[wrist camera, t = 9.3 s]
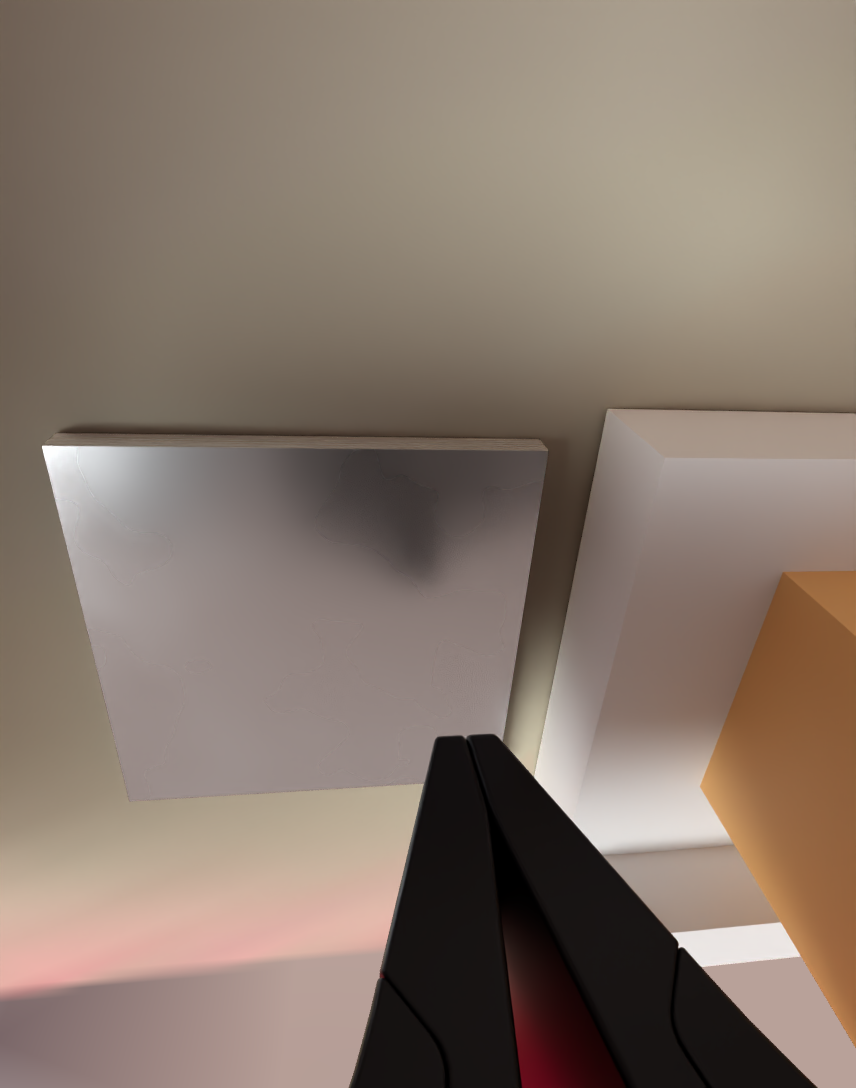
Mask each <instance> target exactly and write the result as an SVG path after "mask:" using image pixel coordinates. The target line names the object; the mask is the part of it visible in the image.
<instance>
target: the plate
mask: <svg viewBox="0 0 856 1088" xmlns="http://www.w3.org/2000/svg"><path fill="white" fill-rule="evenodd" d="M42 449H43V453H44V457H45V461H46V465H47V469H48V473H49V477H50V481H51V486H52V490H53V494H54V498H55V502H56V506H57V510H58V514H59V518H60V522H61V526H62V530H63V534H64V538H65V542H66V546H67V550H68V554H69V558H70V562H71V566H72V570H73V575H74V579H75V583H76V587H77V591H78V595H79V599H80V603H81V607H82V611H83V615H84V619H85V623H86V627H87V631H88V635H89V639H90V643H91V647H92V651H93V655H94V660H95V664H96V668H97V672H98V676H99V680H100V684H101V688H102V692H103V696H104V700H105V704H106V708H107V712H108V716H109V720H110V724H111V728H112V732H113V736H114V740H115V744H116V749H117V753H118V757H119V761H120V765H121V769H122V773H123V777H124V781H125V785H126V789H127V793H128V797H129V801H144V800H160V799H177V798H193V797H210V796H226V795H242V794H259V793H275V792H291V791H308V790H324V789H340V788H357V787H373V786H389V785H406V784H422V783H424V782H425V778H426V774H427V770H428V765H429V761H430V757H431V753H432V748H433V744H434V741H435V739H436V738H437V737H438V736H452V735H462V736H463V737H464V738H465V739H466V737H467V736H468V735H472V734H495V735H496V736H498V737H499V738H500V739H501V740H502V742H503V736H504V730H505V724H506V717H507V711H508V705H509V698H510V692H511V686H512V679H513V673H514V667H515V661H516V654H517V648H518V642H519V635H520V629H521V623H522V616H523V610H524V604H525V597H526V591H527V585H528V579H529V572H530V566H531V560H532V553H533V547H534V541H535V534H536V528H537V522H538V515H539V509H540V503H541V496H542V490H543V484H544V478H545V471H546V465H547V459H548V452H549V451H548V449H547V448H546V447H545V445H544V444H543V443H542V442H541V440H540V439H501V438H420V437H339V436H258V435H177V434H96V433H55V434H54V435H53V436H52V437H51V438H50V439H49V440H48V441H46V442H45V443H44V444H43V445H42Z"/></svg>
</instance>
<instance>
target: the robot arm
mask: <svg viewBox="0 0 856 1088" xmlns="http://www.w3.org/2000/svg"><path fill="white" fill-rule="evenodd" d="M678 946H679V943H678V941H677V939H676V938H675V937H674V936H673V935H672V934H671V933H670V931H669V930H668V929H667V928H666V927H665V926H664V925H663V923H662V922H661V921H660V920H659V919H658V918H657V917H656V915H655V914H654V913H653V912H652V911H651V910H650V909H649V908H648V906H647V905H646V904H645V903H644V902H643V901H642V900H641V898H640V897H639V896H638V895H637V894H636V893H635V892H634V890H633V889H632V888H631V887H630V886H629V885H628V884H627V883H626V881H625V880H624V879H623V878H622V877H621V876H620V875H619V873H618V872H617V871H616V870H615V869H614V868H613V867H612V865H611V864H610V863H609V862H608V861H607V860H606V859H605V858H604V856H603V855H602V854H601V853H600V852H599V851H598V850H597V848H596V847H595V846H594V845H593V844H592V843H591V842H590V840H589V839H588V838H587V837H586V836H585V835H584V834H583V833H582V831H581V830H580V829H579V828H578V827H577V826H576V825H575V823H574V822H573V821H572V820H571V819H570V818H569V817H568V815H567V814H566V813H565V812H564V811H563V810H562V809H561V808H560V806H559V805H558V804H557V803H556V802H555V801H554V800H553V798H552V797H551V796H550V795H549V794H548V793H547V792H546V790H545V789H544V788H543V787H542V786H541V785H540V784H539V783H538V781H537V780H536V779H535V778H534V777H533V776H532V775H531V773H530V772H529V771H528V770H527V769H526V768H525V767H524V765H523V764H522V763H521V762H520V761H519V760H518V759H517V758H516V756H515V755H514V754H513V753H512V752H511V751H510V750H509V748H508V747H507V746H506V745H505V744H504V743H503V742H502V740H501V739H500V738H499V737H498V736H496V735H495V734H472V735H468V736H467V737H466V739H465V738H464V737H463V736H462V735H452V736H438V737H437V738H436V739H435V741H434V744H433V748H432V753H431V757H430V761H429V765H428V770H427V774H426V778H425V782H424V786H423V791H422V795H421V799H420V803H419V808H418V812H417V816H416V820H415V825H414V829H413V833H412V837H411V842H410V846H409V850H408V854H407V859H406V863H405V867H404V871H403V876H402V880H401V884H400V888H399V893H398V897H397V901H396V905H395V910H394V914H393V918H392V922H391V927H390V931H389V935H388V939H387V944H386V948H385V952H384V956H383V961H382V965H381V969H380V978H379V979H378V981H377V984H376V989H375V993H374V997H373V1001H372V1006H371V1010H370V1014H369V1018H368V1022H367V1026H366V1029H365V1033H364V1037H363V1040H362V1044H361V1048H360V1052H359V1055H358V1059H357V1063H356V1066H355V1070H354V1073H353V1076H352V1079H351V1082H350V1085H349V1088H817V1087H816V1086H815V1085H814V1084H813V1083H812V1082H811V1081H810V1080H809V1079H808V1078H807V1077H806V1076H805V1075H804V1074H803V1073H802V1072H801V1071H800V1070H799V1069H798V1068H797V1067H796V1066H795V1065H794V1064H793V1063H792V1062H791V1061H790V1060H789V1059H788V1058H787V1057H786V1056H785V1055H784V1054H783V1053H782V1052H781V1051H780V1050H779V1049H778V1048H777V1047H776V1046H775V1045H774V1044H773V1043H772V1042H771V1041H770V1040H769V1039H768V1038H767V1037H766V1036H765V1035H764V1034H763V1033H762V1032H761V1031H760V1030H759V1029H758V1028H757V1027H756V1026H755V1025H754V1024H753V1023H752V1022H751V1021H750V1020H749V1019H748V1018H747V1017H746V1016H745V1015H744V1014H743V1012H742V1011H741V1010H740V1009H739V1008H738V1007H737V1006H736V1005H735V1004H734V1003H733V1002H732V1001H731V999H730V998H729V997H728V996H727V995H726V994H725V993H724V992H723V991H722V990H721V989H720V987H718V985H717V984H716V983H715V982H714V981H713V980H712V979H711V978H710V977H709V975H708V974H707V973H706V972H705V971H704V970H703V969H702V967H701V966H700V965H699V964H698V963H697V962H696V961H695V960H694V958H693V957H692V956H691V955H690V954H689V953H688V951H687V950H686V949H685V948H683V947H680V948H679V949H678Z"/></svg>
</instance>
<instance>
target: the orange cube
mask: <svg viewBox="0 0 856 1088" xmlns="http://www.w3.org/2000/svg"><path fill="white" fill-rule="evenodd" d="M700 788H701V790H702V791H703V793H704V795H705V796H706V798H707V800H708V801H709V803H710V805H711V806H712V808H713V810H714V811H715V813H716V815H717V816H718V818H719V820H720V821H721V823H722V825H723V826H724V828H725V830H726V831H727V833H728V835H729V836H730V838H731V840H732V842H733V843H734V845H735V847H736V848H737V850H738V852H739V853H740V855H741V857H742V858H743V860H744V862H745V863H746V865H747V867H748V868H749V870H750V872H751V873H752V875H753V877H754V878H755V880H756V882H757V883H758V885H759V887H760V888H761V890H762V892H763V893H764V895H765V897H766V898H767V900H768V902H769V904H770V905H771V907H772V909H773V910H774V912H775V914H776V915H777V917H778V919H779V920H780V922H781V924H782V925H783V927H784V929H785V930H786V932H787V934H788V935H789V937H790V939H791V940H792V942H793V944H794V945H795V947H796V949H797V950H798V952H799V954H800V955H801V957H802V959H803V960H804V962H805V964H806V966H807V967H808V969H809V971H810V972H811V974H812V976H813V977H814V979H815V981H816V982H817V984H818V985H819V987H820V989H821V991H822V992H823V994H824V996H825V997H826V999H827V1001H828V1002H829V1004H830V1006H831V1007H832V1009H833V1011H834V1012H835V1014H836V1016H837V1017H838V1019H839V1021H840V1022H841V1024H842V1026H843V1027H844V1029H845V1030H846V1032H847V1034H848V1036H849V1038H850V1039H851V1041H852V1043H853V1044H854V1046H855V1048H856V571H808V572H783V573H782V576H781V578H780V581H779V584H778V586H777V589H776V591H775V594H774V596H773V599H772V602H771V604H770V607H769V609H768V612H767V615H766V617H765V620H764V622H763V625H762V627H761V630H760V633H759V635H758V638H757V640H756V643H755V645H754V648H753V651H752V653H751V656H750V658H749V661H748V664H747V666H746V669H745V671H744V674H743V676H742V679H741V682H740V684H739V687H738V689H737V692H736V694H735V697H734V700H733V702H732V705H731V707H730V710H729V713H728V715H727V718H726V720H725V723H724V725H723V728H722V731H721V733H720V736H719V738H718V741H717V743H716V746H715V749H714V751H713V754H712V756H711V759H710V762H709V764H708V767H707V769H706V772H705V774H704V777H703V780H702V782H701V785H700Z"/></svg>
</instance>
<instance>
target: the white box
mask: <svg viewBox="0 0 856 1088" xmlns="http://www.w3.org/2000/svg"><path fill="white" fill-rule="evenodd" d="M808 571H856V413H805V412H753V411H701V410H649V409H607V413H606V418H605V423H604V428H603V433H602V438H601V443H600V448H599V453H598V458H597V463H596V469H595V474H594V479H593V484H592V489H591V494H590V499H589V504H588V509H587V514H586V519H585V524H584V529H583V534H582V539H581V544H580V549H579V554H578V559H577V564H576V569H575V574H574V579H573V584H572V589H571V594H570V599H569V604H568V609H567V614H566V619H565V624H564V629H563V635H562V640H561V645H560V650H559V655H558V660H557V665H556V670H555V675H554V680H553V685H552V690H551V695H550V700H549V705H548V710H547V715H546V720H545V725H544V730H543V735H542V740H541V745H540V750H539V755H538V760H537V765H536V770H535V775H534V778H535V779H536V780H537V781H538V783H539V784H540V785H541V786H542V787H543V788H544V789H545V790H546V792H547V793H548V794H549V795H550V796H551V797H552V798H553V800H554V801H555V802H556V803H557V804H558V805H559V806H560V808H561V809H562V810H563V811H564V812H565V813H566V814H567V815H568V817H569V818H570V819H571V820H572V821H573V822H574V823H575V825H576V826H577V827H578V828H579V829H580V830H581V831H582V833H583V834H584V835H585V836H586V837H587V838H588V839H589V840H590V842H591V843H592V844H593V845H594V846H595V847H596V848H597V850H598V851H599V852H600V853H601V854H602V855H603V856H604V858H605V859H606V860H607V861H608V862H609V863H610V864H611V865H612V867H613V868H614V869H615V870H616V871H617V872H618V873H619V875H620V876H621V877H622V878H623V879H624V880H625V881H626V883H627V884H628V885H629V886H630V887H631V888H632V889H633V890H634V892H635V893H636V894H637V895H638V896H639V897H640V898H641V900H642V901H643V902H644V903H645V904H646V905H647V906H648V908H649V909H650V910H651V911H652V912H653V913H654V914H655V915H656V917H657V918H658V919H659V920H660V921H661V922H662V923H663V925H664V926H665V927H666V928H667V929H668V930H669V931H670V933H671V934H672V935H673V936H674V937H675V938H676V939H677V941H678V943H679V946H678V949H679V948H680V947H683V948H685V949H686V950H687V951H688V953H689V954H690V955H691V956H692V957H693V958H694V960H695V961H696V962H697V963H698V964H699V965H700V966H701V967H705V966H714V965H724V964H734V963H743V962H752V961H761V960H771V959H780V958H789V957H798V956H801V955H800V954H799V952H798V950H797V949H796V947H795V945H794V944H793V942H792V940H791V939H790V937H789V935H788V934H787V932H786V930H785V929H784V927H783V925H782V924H781V922H780V920H779V919H778V917H777V915H776V914H775V912H774V910H773V909H772V907H771V905H770V904H769V902H768V900H767V898H766V897H765V895H764V893H763V892H762V890H761V888H760V887H759V885H758V883H757V882H756V880H755V878H754V877H753V875H752V873H751V872H750V870H749V868H748V867H747V865H746V863H745V862H744V860H743V858H742V857H741V855H740V853H739V852H738V850H737V848H736V847H735V845H734V843H733V842H732V840H731V838H730V836H729V835H728V833H727V831H726V830H725V828H724V826H723V825H722V823H721V821H720V820H719V818H718V816H717V815H716V813H715V811H714V810H713V808H712V806H711V805H710V803H709V801H708V800H707V798H706V796H705V795H704V793H703V791H702V790H701V788H700V785H701V782H702V780H703V777H704V774H705V772H706V769H707V767H708V764H709V762H710V759H711V756H712V754H713V751H714V749H715V746H716V743H717V741H718V738H719V736H720V733H721V731H722V728H723V725H724V723H725V720H726V718H727V715H728V713H729V710H730V707H731V705H732V702H733V700H734V697H735V694H736V692H737V689H738V687H739V684H740V682H741V679H742V676H743V674H744V671H745V669H746V666H747V664H748V661H749V658H750V656H751V653H752V651H753V648H754V645H755V643H756V640H757V638H758V635H759V633H760V630H761V627H762V625H763V622H764V620H765V617H766V615H767V612H768V609H769V607H770V604H771V602H772V599H773V596H774V594H775V591H776V589H777V586H778V584H779V581H780V578H781V576H782V573H783V572H808Z"/></svg>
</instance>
